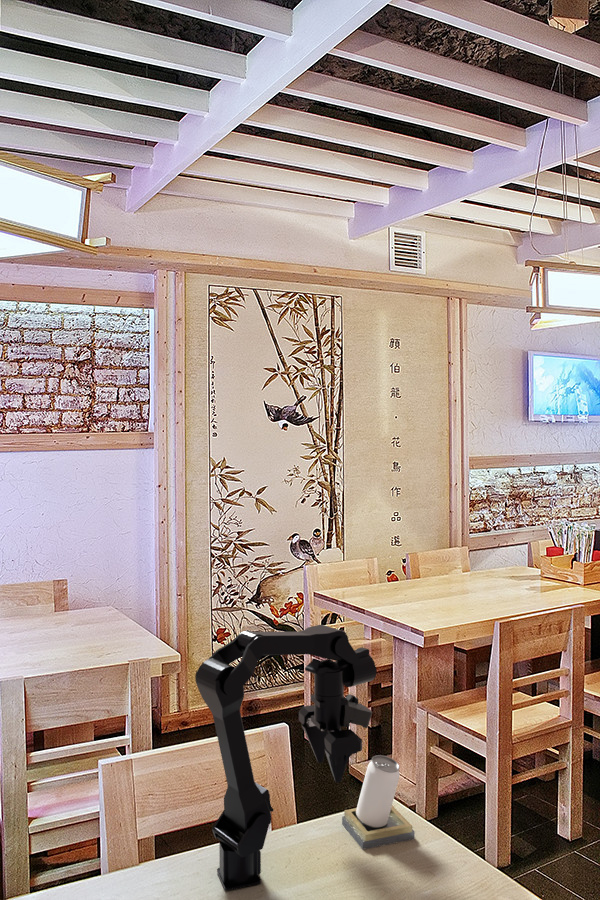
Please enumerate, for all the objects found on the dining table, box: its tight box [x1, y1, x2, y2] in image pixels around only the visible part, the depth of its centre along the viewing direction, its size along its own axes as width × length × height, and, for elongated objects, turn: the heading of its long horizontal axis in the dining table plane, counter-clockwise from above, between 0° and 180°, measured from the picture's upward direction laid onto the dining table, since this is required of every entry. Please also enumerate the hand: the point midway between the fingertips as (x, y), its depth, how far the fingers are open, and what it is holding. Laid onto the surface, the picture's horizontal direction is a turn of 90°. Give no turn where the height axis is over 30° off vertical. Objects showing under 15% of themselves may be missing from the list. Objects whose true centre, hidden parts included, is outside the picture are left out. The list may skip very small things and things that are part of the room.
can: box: [356, 754, 401, 828], centre depth 150 cm, size 6×6×12 cm
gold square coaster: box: [341, 805, 416, 850], centre depth 150 cm, size 11×10×3 cm
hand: (329, 771), depth 147 cm, fingers open, 9 cm apart
